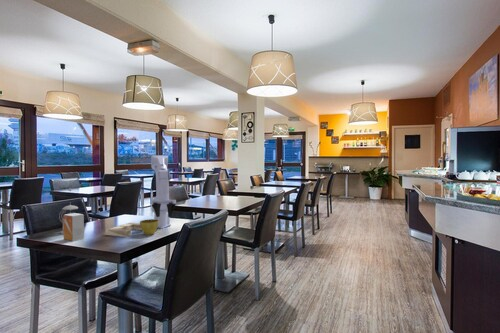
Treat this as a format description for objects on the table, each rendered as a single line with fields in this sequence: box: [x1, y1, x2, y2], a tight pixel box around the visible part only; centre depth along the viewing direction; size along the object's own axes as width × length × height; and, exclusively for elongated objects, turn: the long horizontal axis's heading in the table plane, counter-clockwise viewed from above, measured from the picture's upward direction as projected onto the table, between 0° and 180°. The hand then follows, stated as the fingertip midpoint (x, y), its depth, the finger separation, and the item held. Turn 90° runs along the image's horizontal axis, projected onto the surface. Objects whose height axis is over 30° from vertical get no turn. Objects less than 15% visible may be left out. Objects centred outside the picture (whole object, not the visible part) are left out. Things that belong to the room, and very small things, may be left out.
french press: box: [58, 188, 79, 235], centre depth 180 cm, size 10×12×25 cm
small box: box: [62, 212, 85, 242], centre depth 163 cm, size 8×6×13 cm
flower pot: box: [139, 218, 159, 236], centre depth 175 cm, size 10×10×7 cm
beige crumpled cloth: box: [105, 222, 142, 238], centre depth 179 cm, size 20×14×3 cm
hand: (163, 216), depth 171 cm, fingers open, 7 cm apart
